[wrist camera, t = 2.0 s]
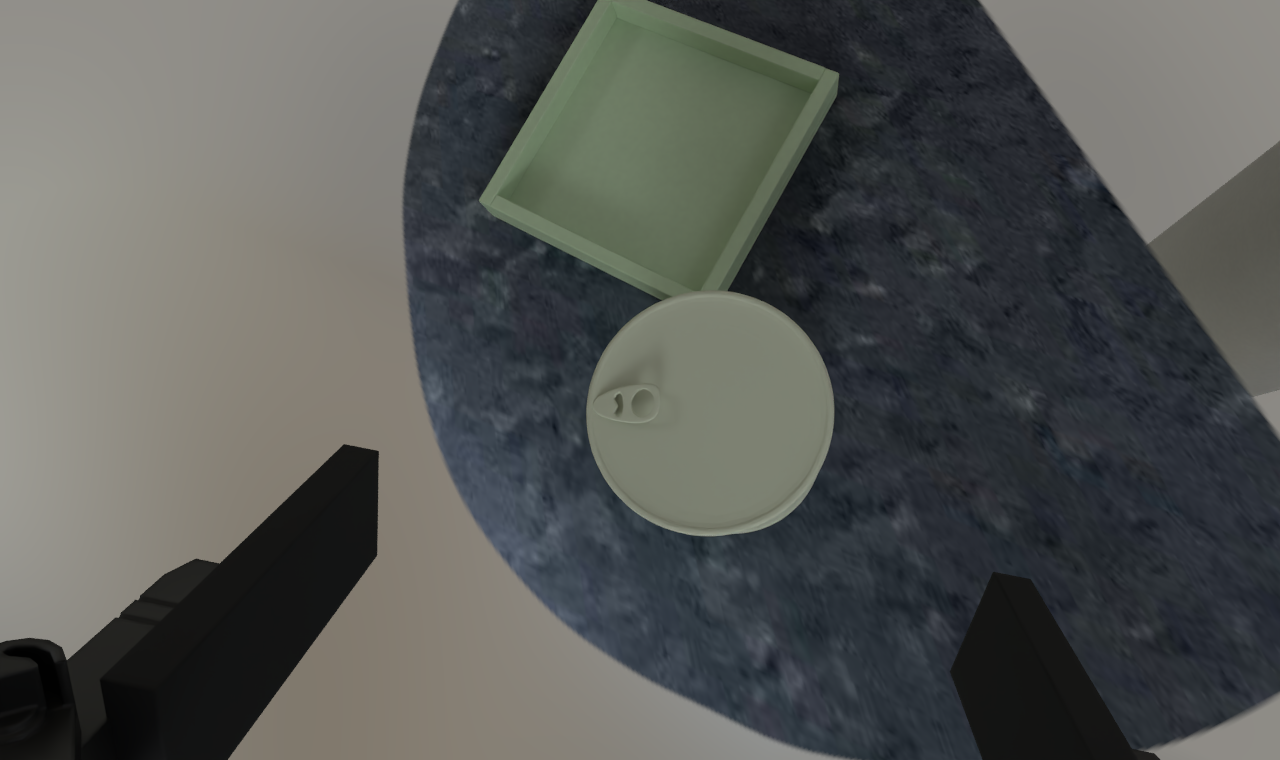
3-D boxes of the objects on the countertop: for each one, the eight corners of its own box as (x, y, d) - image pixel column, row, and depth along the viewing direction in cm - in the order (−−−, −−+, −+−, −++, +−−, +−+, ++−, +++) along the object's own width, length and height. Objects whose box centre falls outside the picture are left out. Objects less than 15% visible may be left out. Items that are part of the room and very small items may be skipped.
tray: (837, 95, 40) (839, 72, 38) (709, 324, 39) (704, 313, 37) (614, 9, 44) (606, -16, 42) (492, 215, 43) (478, 200, 41)
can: (647, 354, 40) (588, 285, 28) (822, 356, 38) (837, 282, 26) (638, 528, 38) (571, 530, 26) (821, 538, 36) (836, 545, 24)
